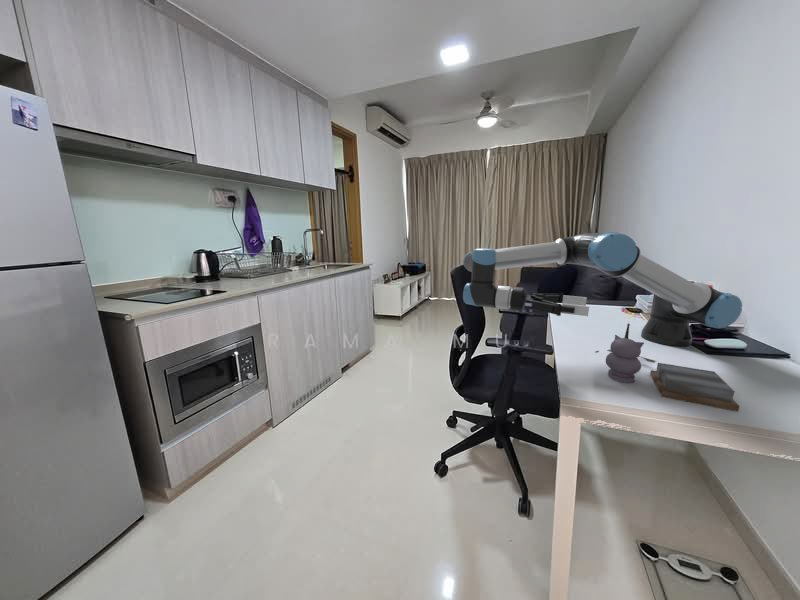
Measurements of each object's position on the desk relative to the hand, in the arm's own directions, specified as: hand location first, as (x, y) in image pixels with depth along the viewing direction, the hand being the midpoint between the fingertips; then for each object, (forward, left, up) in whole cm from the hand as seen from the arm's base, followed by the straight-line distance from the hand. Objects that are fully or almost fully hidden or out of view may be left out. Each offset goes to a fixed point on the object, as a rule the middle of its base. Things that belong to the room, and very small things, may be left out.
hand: (587, 306), depth 89 cm
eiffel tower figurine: (-19, +14, -21) cm, 32 cm away
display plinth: (0, +26, -20) cm, 33 cm away
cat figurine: (0, +11, -20) cm, 23 cm away
